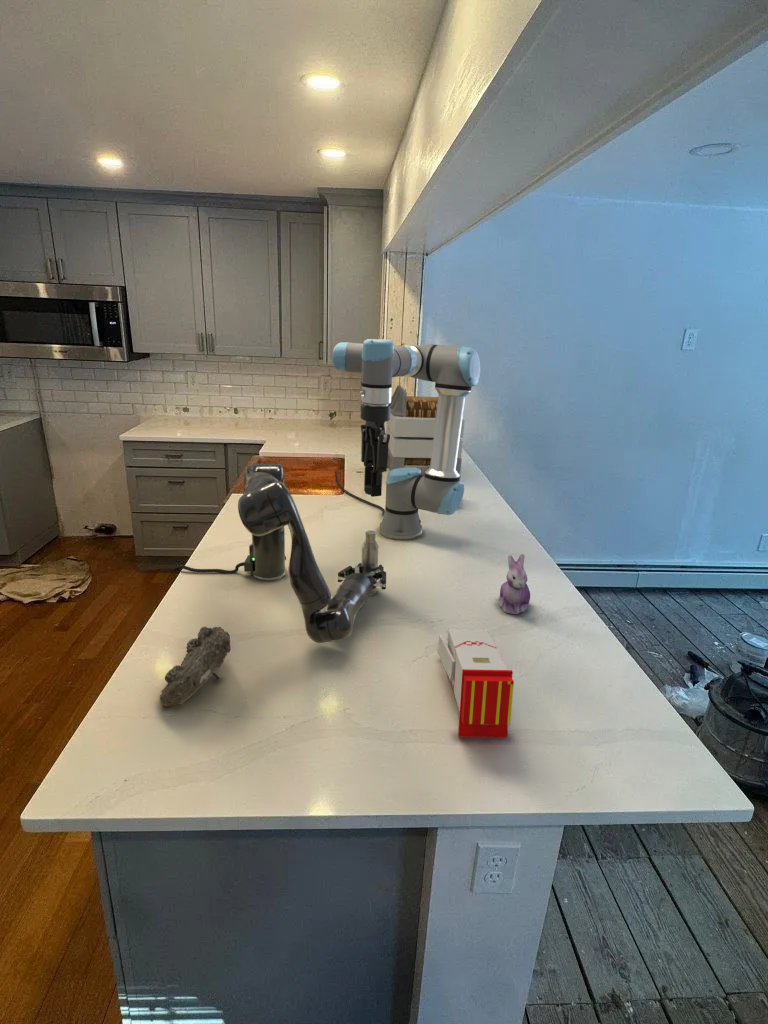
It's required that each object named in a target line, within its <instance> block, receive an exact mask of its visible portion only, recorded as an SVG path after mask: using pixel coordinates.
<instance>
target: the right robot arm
mask: <svg viewBox="0 0 768 1024" xmlns="http://www.w3.org/2000/svg"><path fill="white" fill-rule="evenodd" d="M331 361H332V363H333V366H334V368H335V369H336V370H338V371H341V372H346V373H347V372H348V373H358V374H359V373H360V374H361V390H360V391H359V395H360V402H361V403H362V404H361V405H360V419H361V420H362V421H365V424H361V425H360V432H361V444H360V445H361V446H360V447H361V448H360V450H361V451H360V453H361V454H360V455H361V456H360V457H361V459H360V461H361V463H363V466H364V479H363V480H364V483H363V484H364V485H363V491H364V492H365V486H366V485H367V484H371V495H370V497H371V498H374V497H375V498H376V497H382V493H383V492H382V491H383V473H384V472H385V473H387V471H388V467H387V459H388V444H389V440H390V435H389V434H386V426H385V423H386V421H389V420H390V414H391V407H390V405H389V404H390V403H391V398H392V396H393V394H392V392H393V378H396V377H397V378H398V377H405V378H413V379H417V380H421V381H425V382H431V383H434V389H435V391H436V393H438V396H437V397H438V405H437V413H436V421H435V430H434V438H433V446H432V455H431V463H430V466H428V467H429V468H427V469H426V470H424V474H422V470H421V468H419V467H414V466H411V467H409V466H406V467H405V466H404V468H397V469H393V470H391V471H390V470H389V471H388V473H387V475H386V480H385V504H384V505H385V507H384V508H385V509H384V508H383V507H382V506H380V505H378V504H376V503H373V502H370V501H369V500H366V499H364V498H361V497H359V496H357V495H355V494H353V493H351V492H349V491H348V490H346V489H345V488H344V487H343V486H342V485H341V484H340V482H339V479H338V471H337V470H335V471H334V476H335V477H334V478H335V483H336V485H337V487H338V488H339V489H340V490H342V491H343V492H344V493H345V494H347V495H348V496H350V497H352V498H354V499H356V500H358V501H360V502H363V503H365V504H367V505H370V506H372V507H375V508H377V509H379V510H380V511H382V515H381V516H382V519H381V522H379V526H378V533H379V534H380V535H381V536H382V537H385V538H387V539H389V540H395V541H410V540H415V539H418V538H420V537H421V536H422V535H423V525H422V524H421V522H422V521H421V518H420V515H419V510H421V511H426V512H429V513H435V514H438V515H445V516H451V515H453V514H454V513H456V512H457V510H458V509H459V508H460V505H461V504H462V502H463V501H462V500H463V497H464V493H465V485H464V483H463V482H462V481H461V480H460V481H459V477H460V478H461V474H460V475H459V474H458V473H457V471H456V465H457V457H458V450H459V442H460V439H461V438H460V434H461V427H462V419H464V412H465V411H464V410H465V403H466V397H467V396H468V395H469V394H470V393H471V392H472V387H476V386H477V385H478V384H479V380H480V377H481V362H480V357H479V353H478V352H477V351H476V350H475V349H474V348H472V347H469V346H463V345H446V344H445V345H444V344H434V343H433V344H432V343H429V344H416V345H411V344H410V345H409V344H408V345H395V346H394V342H393V341H392V340H391V339H383V338H367V339H365V340H364V341H363V343H359V342H349V341H347V342H344V341H343V342H342V341H341V342H338V343H337V344H336V345H335V346H334V348H333V350H332V360H331ZM460 503H461V504H460Z"/></svg>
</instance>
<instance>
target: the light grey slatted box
mask: <svg viewBox="0 0 768 1024" xmlns="http://www.w3.org/2000/svg"><path fill="white" fill-rule="evenodd" d="M407 394H408V393H407V390H406V389H404V388H403V387H402V385H399V384H398V385H397V386H396V388H395V390H394V392H393V394H392V397H391V403H390V404H389V405H390V407H391V414H390V420H389V421H386V422H385V423H386V426H385V433H386V434H389V435H390V440H389V444H388V459H387V468H389V472H390V471H391V470H393V469H397V468H405V466H406V467H409V466H411V467H417V466H418V467H430V463H431V455H432V446H433V438H434V430H435V421H436V413H437V405H438V396H415V395H414V396H413V395H412V396H411V395H407ZM464 429H465V419H464V418H463V419H462V427H461V434H460V442H459V450H458V457H457V465H456V471H457V473H458V474H459V475H460V477H459V481H460V482H461V472H462V461H463V460H462V453H463V442H464V441H463V440H462V439H463V438H464V431H465V430H464Z"/></svg>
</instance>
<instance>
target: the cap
mask: <svg viewBox="0 0 768 1024" xmlns="http://www.w3.org/2000/svg"><path fill="white" fill-rule="evenodd" d="M364 493H365V494H366V495H369V496H371V484H367V485H366V486H365V491H364Z"/></svg>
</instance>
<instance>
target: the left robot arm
mask: <svg viewBox="0 0 768 1024" xmlns="http://www.w3.org/2000/svg"><path fill="white" fill-rule="evenodd" d="M243 484H244V487H243V493H242V496H240V497H239V499H238V501H237V502H238V503H237V511H238V515H239V519H240V521H241V522H242V525H243V527H244V528H245V529H246V530H247V531H248V533H250V534H251V544H249V545H248V551H249V552H248V555H246V558H245V560H244V561H243V562H239V563H237V564H236V565H235V567H234V569H232V570H228V569H222V568H194V567H191V566H187V565H176V566H175V567H174V568H173V569H172V570H171V572H177V571H178V570H186V571H189V572H192V573H221V574H228V575H229V574H231V575H233V574H236V573H237V572H239V568H241V567H243V572H245V573H246V572H247V573H249V575H250V577H253V578H255V579H257V580H259V581H262V582H263V581H264V582H270V581H277V580H280V579H282V578H284V577H285V576H286V574H287V573H286V572H287V571H286V570H287V569H286V561H287V555H286V542H285V541H286V540H285V539H286V538H285V535H286V533H285V527H286V526H288V529H289V532H290V538H291V545H290V546H291V547H290V556H289V563H288V581H289V584H290V587H291V589H292V591H293V593H294V594H295V596H296V599H297V601H298V603H299V604H300V607H301V610H302V611H301V612H302V617H303V620H304V625H305V632H306V634H307V636H308V639H310V640H311V641H312V642H314V643H316V644H324V643H330V642H331V643H332V642H337V641H343V640H345V639H347V638H349V637H350V636H351V635H352V634H353V630H354V622H355V616H356V614H357V613H358V612H359V610H360V609H361V608H362V607H363V606H364V604H365V603H366V602H367V600H368V598H369V597H370V596H371V595H370V593H371V591H372V589H374V588H376V587H377V588H378V587H379V588H381V590H384V591H385V590H386V589H387V572H386V571H385V570H384V566H383V564H378V568H377V569H376V570H375V571H371V572H369V573H368V574H364V573H361V562H359V563H357V565H355V566H354V567H353V566H352V565H348V566H346V567H344V568H343V569H342V570H339V572H338V571H337V582H338V583H341V584H340V585H339V586H338V588H337V589H336V591H335V593H334V595H333V596H332V593H331V591H330V588H329V586H328V584H327V582H326V580H325V578H324V576H323V574H322V572H321V570H320V568H319V565H318V563H317V561H316V558H315V555H314V552H313V548H312V546H311V543H310V540H309V537H308V534H307V531H306V529H305V526H304V524H303V523H304V522H303V521H302V518H301V515H300V513H299V509H298V508H297V505H296V502H295V500H294V498H293V496H292V494H291V492H290V490H289V489H288V487H287V486H286V484H285V470H284V467H283V466H282V464H281V463H252V464H249V465H248V466H247V467H246V468H245V470H244V475H243ZM376 581H377V582H376ZM325 608H326V610H323V609H325Z"/></svg>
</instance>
